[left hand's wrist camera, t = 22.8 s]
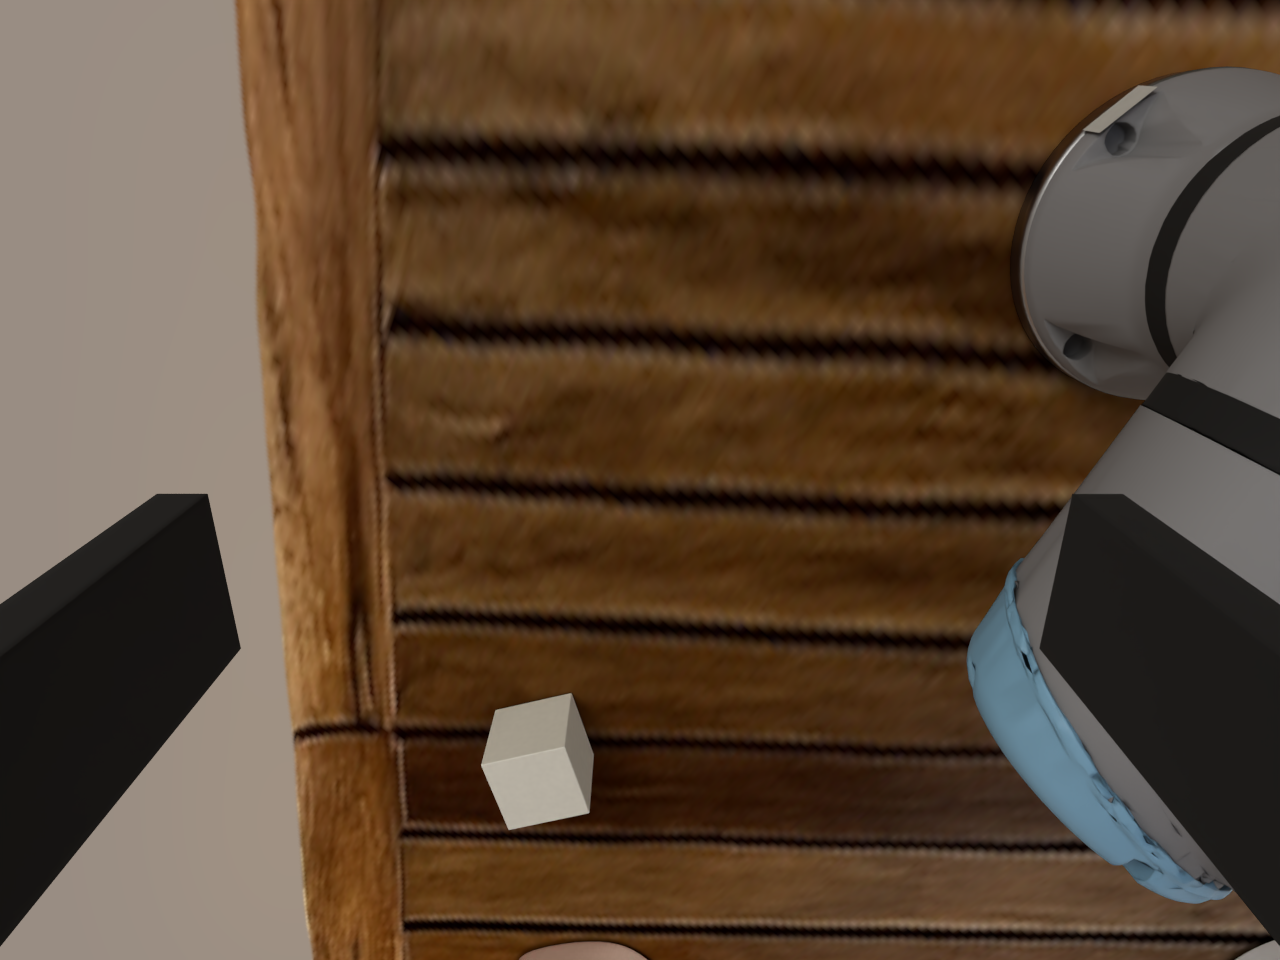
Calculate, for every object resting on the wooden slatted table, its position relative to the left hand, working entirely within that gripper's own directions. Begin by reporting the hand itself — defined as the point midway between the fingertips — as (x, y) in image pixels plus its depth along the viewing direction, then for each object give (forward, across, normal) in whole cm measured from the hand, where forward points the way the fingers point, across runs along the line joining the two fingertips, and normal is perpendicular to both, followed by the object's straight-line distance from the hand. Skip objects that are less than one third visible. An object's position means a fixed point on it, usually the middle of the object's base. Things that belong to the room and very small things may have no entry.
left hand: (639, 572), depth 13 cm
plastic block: (+31, +6, +28) cm, 42 cm away
